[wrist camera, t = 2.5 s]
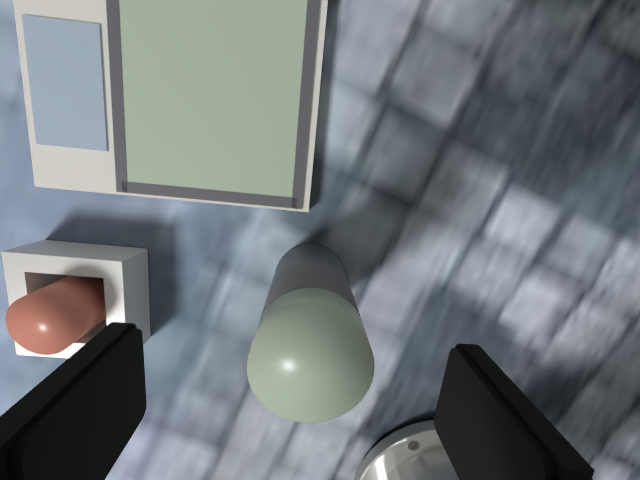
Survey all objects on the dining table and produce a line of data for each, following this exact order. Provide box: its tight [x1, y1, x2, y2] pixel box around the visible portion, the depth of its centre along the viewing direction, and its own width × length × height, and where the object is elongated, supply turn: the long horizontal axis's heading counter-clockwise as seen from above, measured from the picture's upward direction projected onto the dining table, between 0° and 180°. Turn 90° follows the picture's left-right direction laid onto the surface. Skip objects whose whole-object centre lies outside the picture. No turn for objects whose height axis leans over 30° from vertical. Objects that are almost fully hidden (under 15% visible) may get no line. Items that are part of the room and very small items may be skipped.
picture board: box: [13, 0, 328, 212], centre depth 16 cm, size 15×16×1 cm
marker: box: [247, 244, 374, 423], centre depth 15 cm, size 4×4×9 cm
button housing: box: [1, 240, 151, 358], centre depth 18 cm, size 6×6×3 cm
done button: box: [6, 275, 106, 355], centre depth 16 cm, size 3×3×3 cm
